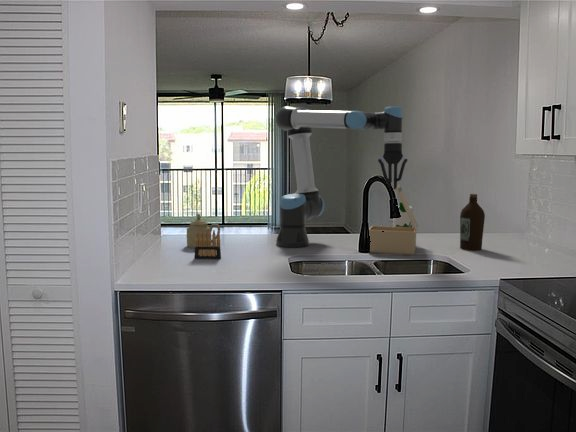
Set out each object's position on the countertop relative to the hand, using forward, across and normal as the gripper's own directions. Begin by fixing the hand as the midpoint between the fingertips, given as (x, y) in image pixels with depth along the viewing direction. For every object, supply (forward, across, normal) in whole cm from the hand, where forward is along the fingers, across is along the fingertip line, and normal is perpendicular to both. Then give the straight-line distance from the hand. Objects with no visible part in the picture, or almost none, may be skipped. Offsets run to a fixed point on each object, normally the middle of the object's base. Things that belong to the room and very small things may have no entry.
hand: (392, 196), depth 250 cm
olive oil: (+25, +34, +18) cm, 46 cm away
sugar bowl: (+22, -84, -15) cm, 88 cm away
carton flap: (+5, +6, 0) cm, 8 cm away
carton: (+24, 0, 0) cm, 24 cm away
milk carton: (+24, +3, +19) cm, 31 cm away
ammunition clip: (+23, -71, -40) cm, 85 cm away
